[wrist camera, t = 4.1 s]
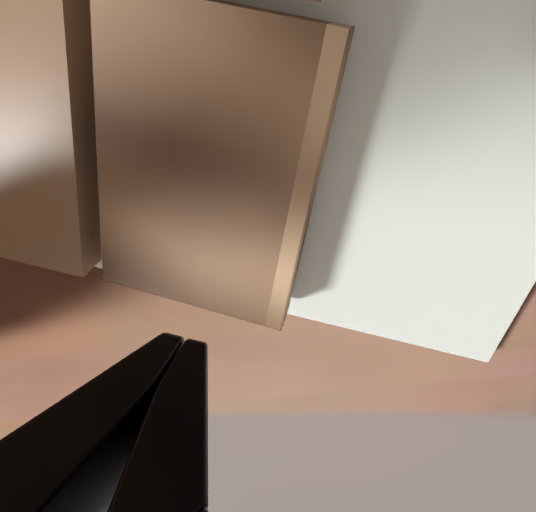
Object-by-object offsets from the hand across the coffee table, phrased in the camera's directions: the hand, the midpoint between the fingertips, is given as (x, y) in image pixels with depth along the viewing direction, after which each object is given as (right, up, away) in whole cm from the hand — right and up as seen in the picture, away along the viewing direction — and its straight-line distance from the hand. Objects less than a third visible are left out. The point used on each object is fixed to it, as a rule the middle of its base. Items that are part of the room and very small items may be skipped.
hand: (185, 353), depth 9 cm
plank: (0, +5, +7) cm, 9 cm away
